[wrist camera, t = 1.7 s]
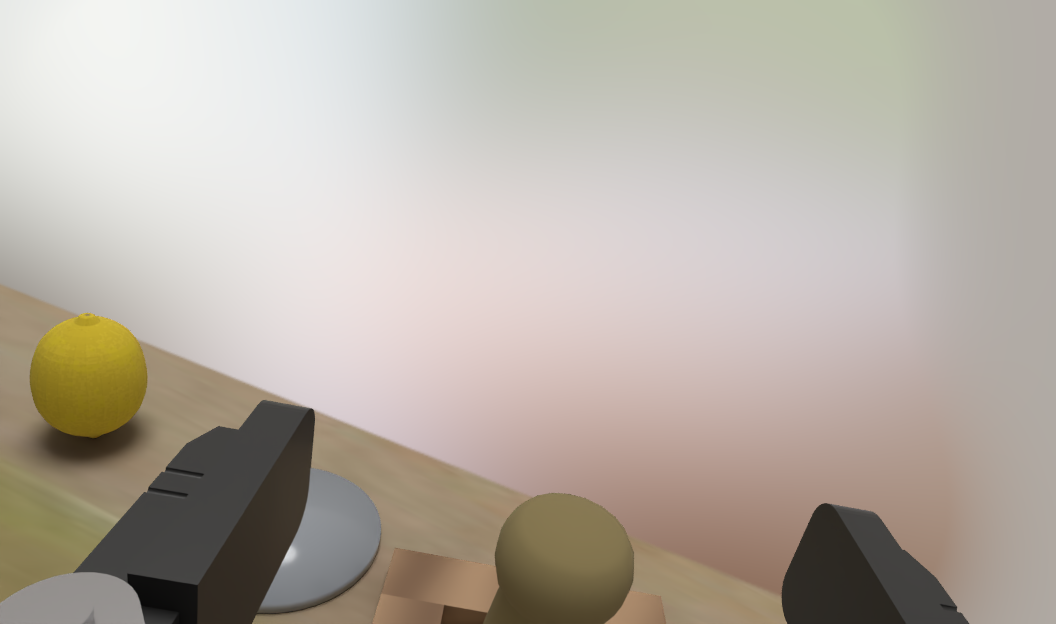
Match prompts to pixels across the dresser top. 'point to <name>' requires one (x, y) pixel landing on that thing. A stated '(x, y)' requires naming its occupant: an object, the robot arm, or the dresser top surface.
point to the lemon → (88, 376)
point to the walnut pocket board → (467, 593)
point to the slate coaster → (326, 546)
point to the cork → (561, 563)
